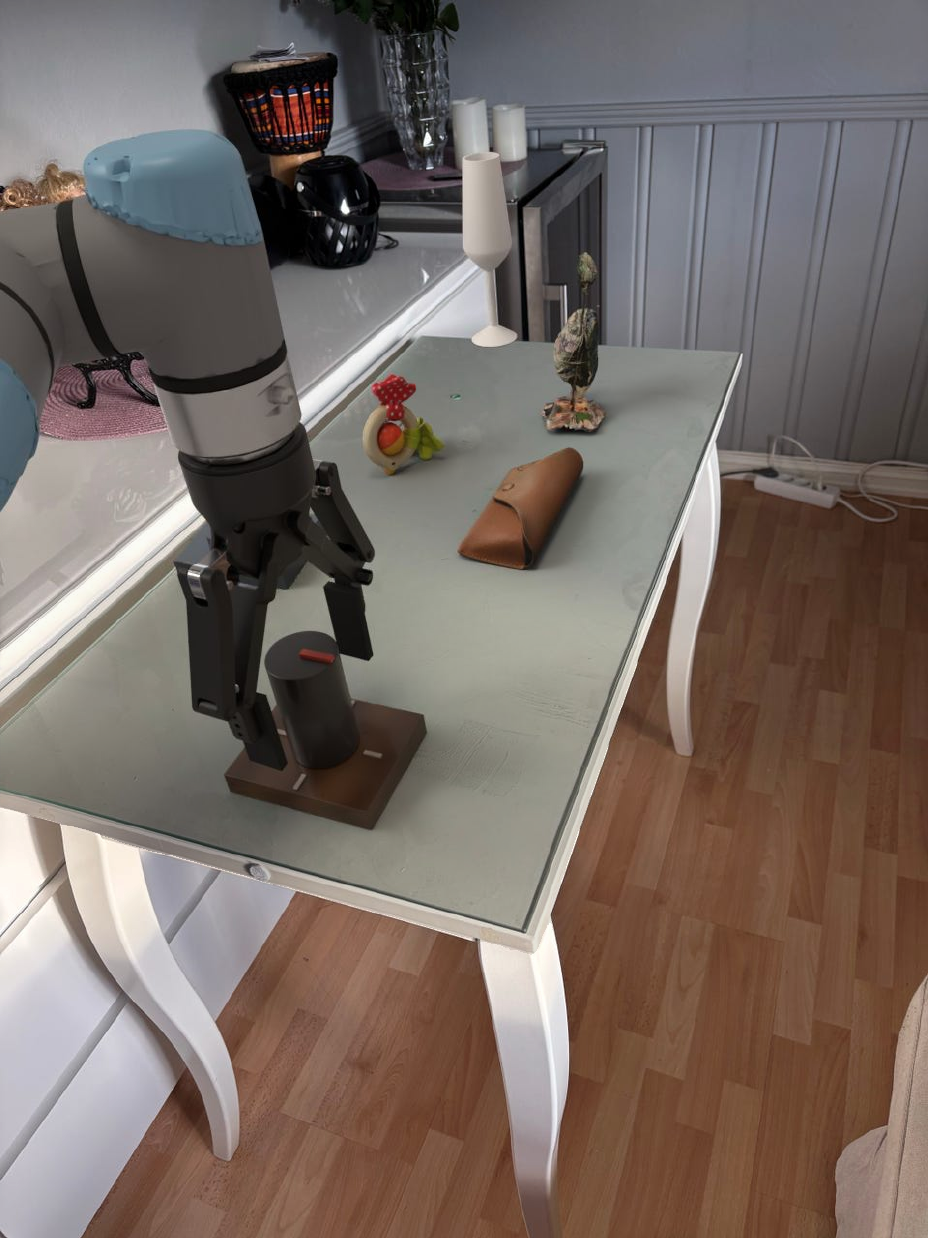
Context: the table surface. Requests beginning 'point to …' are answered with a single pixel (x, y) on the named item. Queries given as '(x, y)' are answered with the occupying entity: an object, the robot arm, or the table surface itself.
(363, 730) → the knob panel
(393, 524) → the table surface
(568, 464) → the sunglasses case
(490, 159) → the champagne flute
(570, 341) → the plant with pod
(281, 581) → the button box
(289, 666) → the dial
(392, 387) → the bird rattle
